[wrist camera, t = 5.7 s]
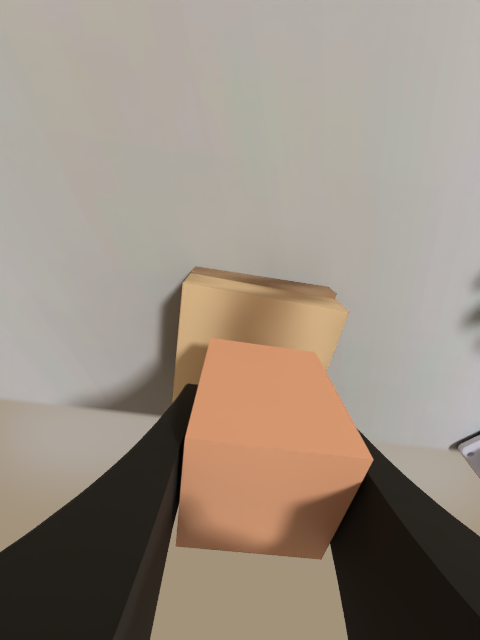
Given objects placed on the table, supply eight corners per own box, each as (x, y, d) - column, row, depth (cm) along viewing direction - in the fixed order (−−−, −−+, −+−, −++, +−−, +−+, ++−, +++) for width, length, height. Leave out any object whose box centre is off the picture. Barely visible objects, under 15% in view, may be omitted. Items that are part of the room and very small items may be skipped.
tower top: (334, 298, 14) (349, 312, 12) (295, 408, 17) (302, 432, 15) (190, 273, 13) (182, 282, 11) (178, 391, 16) (170, 414, 14)
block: (315, 352, 10) (373, 459, 6) (291, 429, 12) (321, 559, 8) (210, 337, 10) (184, 438, 6) (201, 418, 12) (175, 546, 7)
